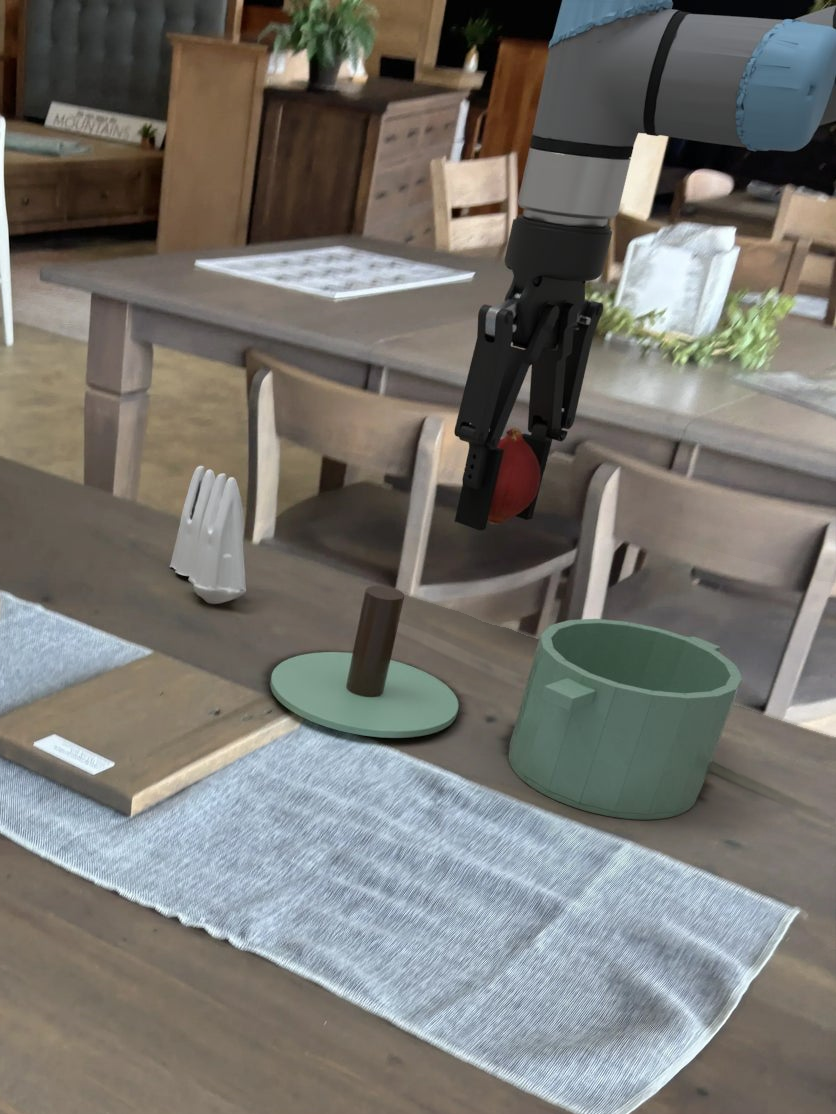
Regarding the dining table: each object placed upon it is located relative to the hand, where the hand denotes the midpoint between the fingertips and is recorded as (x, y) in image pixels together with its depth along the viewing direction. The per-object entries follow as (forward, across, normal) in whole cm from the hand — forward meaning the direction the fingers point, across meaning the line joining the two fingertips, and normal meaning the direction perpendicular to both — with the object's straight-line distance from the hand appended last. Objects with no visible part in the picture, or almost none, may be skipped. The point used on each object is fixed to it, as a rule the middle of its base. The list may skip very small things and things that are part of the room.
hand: (493, 519), depth 121 cm
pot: (+11, +12, +22) cm, 28 cm away
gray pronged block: (+11, +13, -20) cm, 27 cm away
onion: (+1, 0, 0) cm, 1 cm away
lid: (+10, +19, +4) cm, 22 cm away
